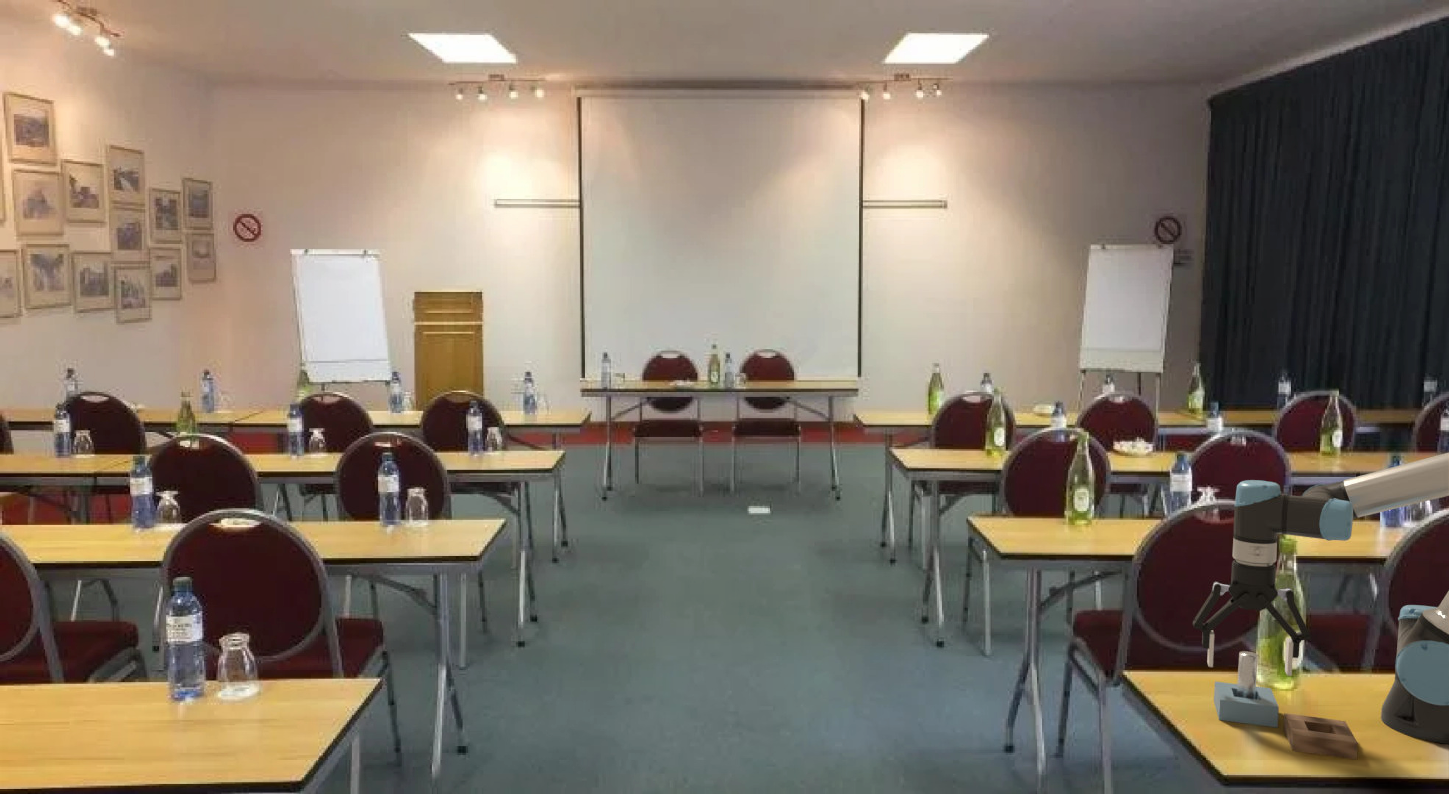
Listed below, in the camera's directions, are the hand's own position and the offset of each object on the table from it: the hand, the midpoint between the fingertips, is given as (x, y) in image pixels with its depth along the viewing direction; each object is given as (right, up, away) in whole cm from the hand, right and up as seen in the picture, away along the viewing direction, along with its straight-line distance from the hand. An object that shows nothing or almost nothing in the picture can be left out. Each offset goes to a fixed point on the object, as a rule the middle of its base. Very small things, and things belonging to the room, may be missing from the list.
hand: (1248, 669), depth 200 cm
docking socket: (0, -9, +1) cm, 9 cm away
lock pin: (0, -9, +1) cm, 9 cm away
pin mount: (+7, -10, -12) cm, 17 cm away
